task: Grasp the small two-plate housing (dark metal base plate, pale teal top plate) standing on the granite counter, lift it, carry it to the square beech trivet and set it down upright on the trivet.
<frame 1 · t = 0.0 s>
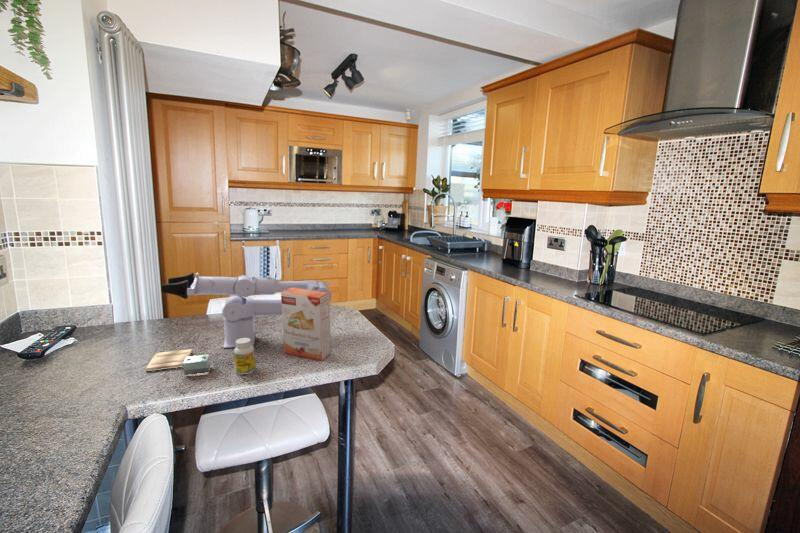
hand: (165, 285, 117), 22 cm above the breakfast bar, tool horizontal, fingers open, 7 cm apart
housing: (198, 372, 109), on the breakfast bar
cracker box: (307, 354, 121), on the breakfast bar
trivet: (170, 361, 115), on the breakfast bar
supplement bottle: (245, 371, 110), on the breakfast bar
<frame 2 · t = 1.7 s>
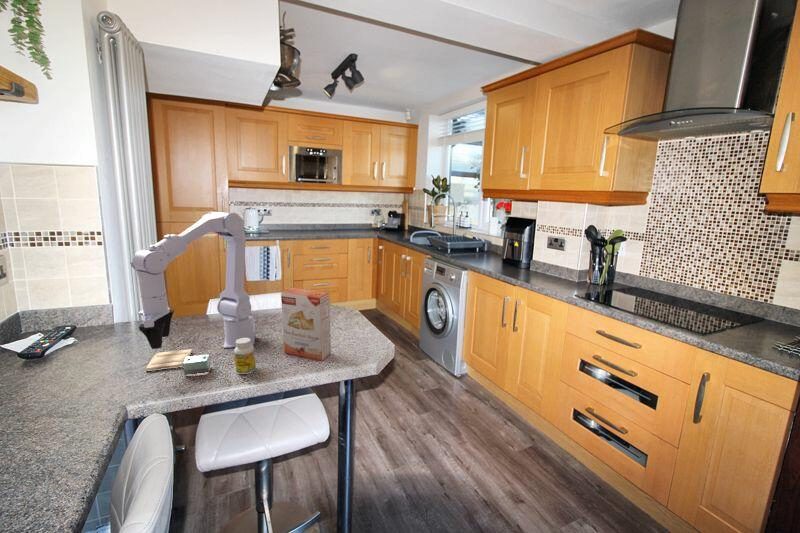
hand: (160, 342, 104), 10 cm above the breakfast bar, tool pointing down, fingers open, 7 cm apart
nothing on the breakfast bar moved.
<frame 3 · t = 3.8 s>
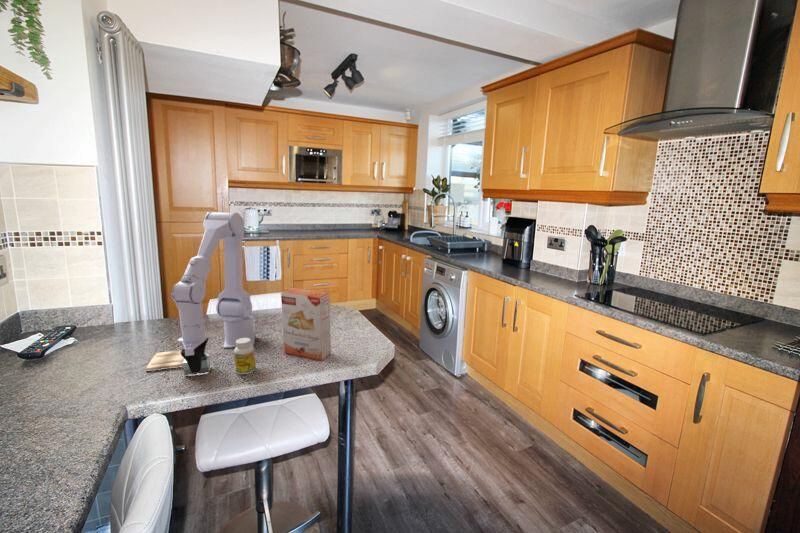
hand: (197, 367, 109), 1 cm above the breakfast bar, tool pointing down, fingers closed on housing, 4 cm apart
housing: (198, 372, 109), on the breakfast bar, touching gripper
everything else where it was.
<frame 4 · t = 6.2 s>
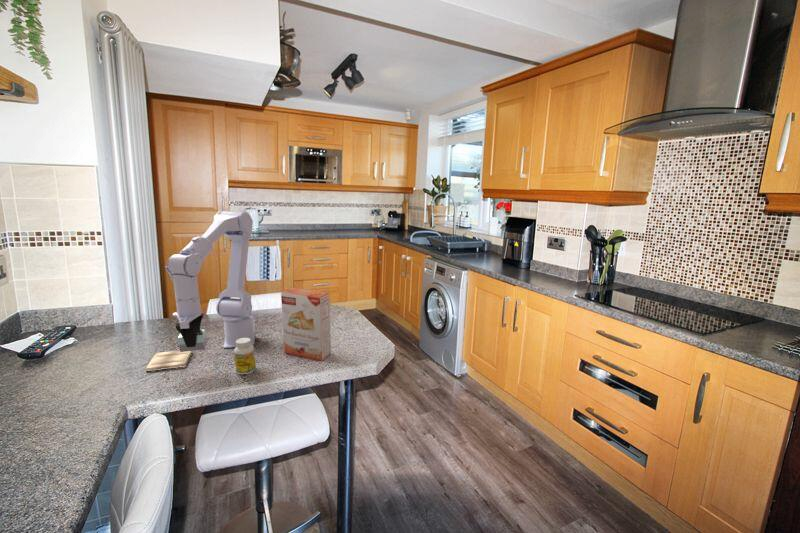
hand: (193, 342, 107), 9 cm above the breakfast bar, tool pointing down, fingers closed on housing, 4 cm apart
housing: (193, 347, 108), point 7 cm above the breakfast bar, touching gripper
everything else where it was.
when the fingers open (4 cm above the breakfast bar, at t = 8.8 s): housing stays where it is, resting on trivet.
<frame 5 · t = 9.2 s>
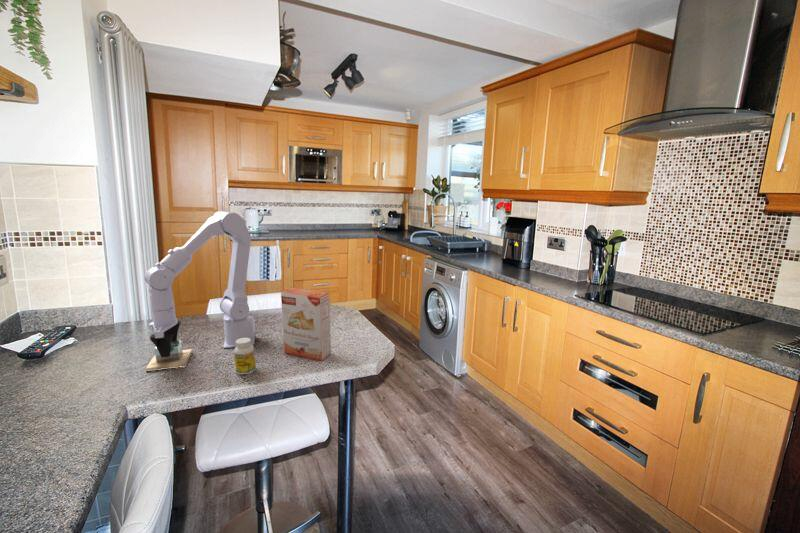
hand: (169, 350, 114), 4 cm above the breakfast bar, tool pointing down, fingers open, 7 cm apart
housing: (169, 357, 114), point 1 cm above the breakfast bar, touching trivet
everything else where it was.
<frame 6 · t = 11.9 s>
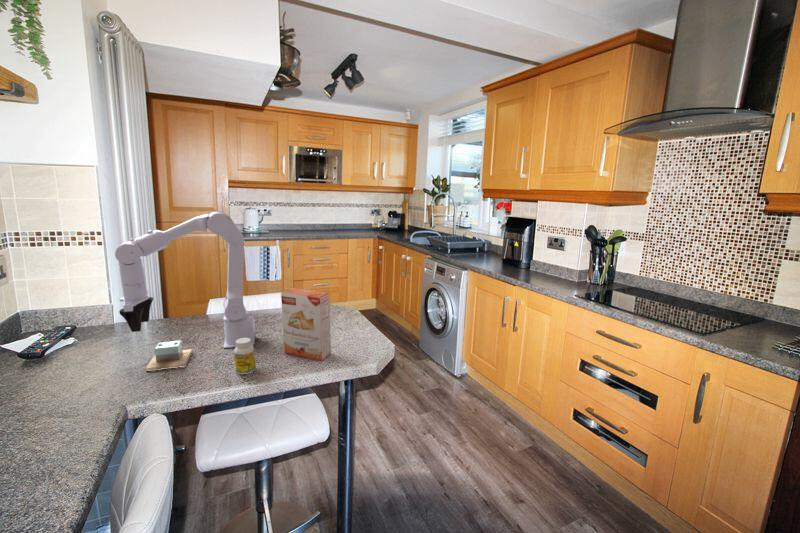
hand: (140, 326, 114), 10 cm above the breakfast bar, tool pointing down, fingers open, 7 cm apart
nothing on the breakfast bar moved.
at the end: housing inside the target area on the trivet (0.0 cm from its centre), point 1.3 cm above the trivet's base; housing tilted 0°; the gripper is holding nothing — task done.
